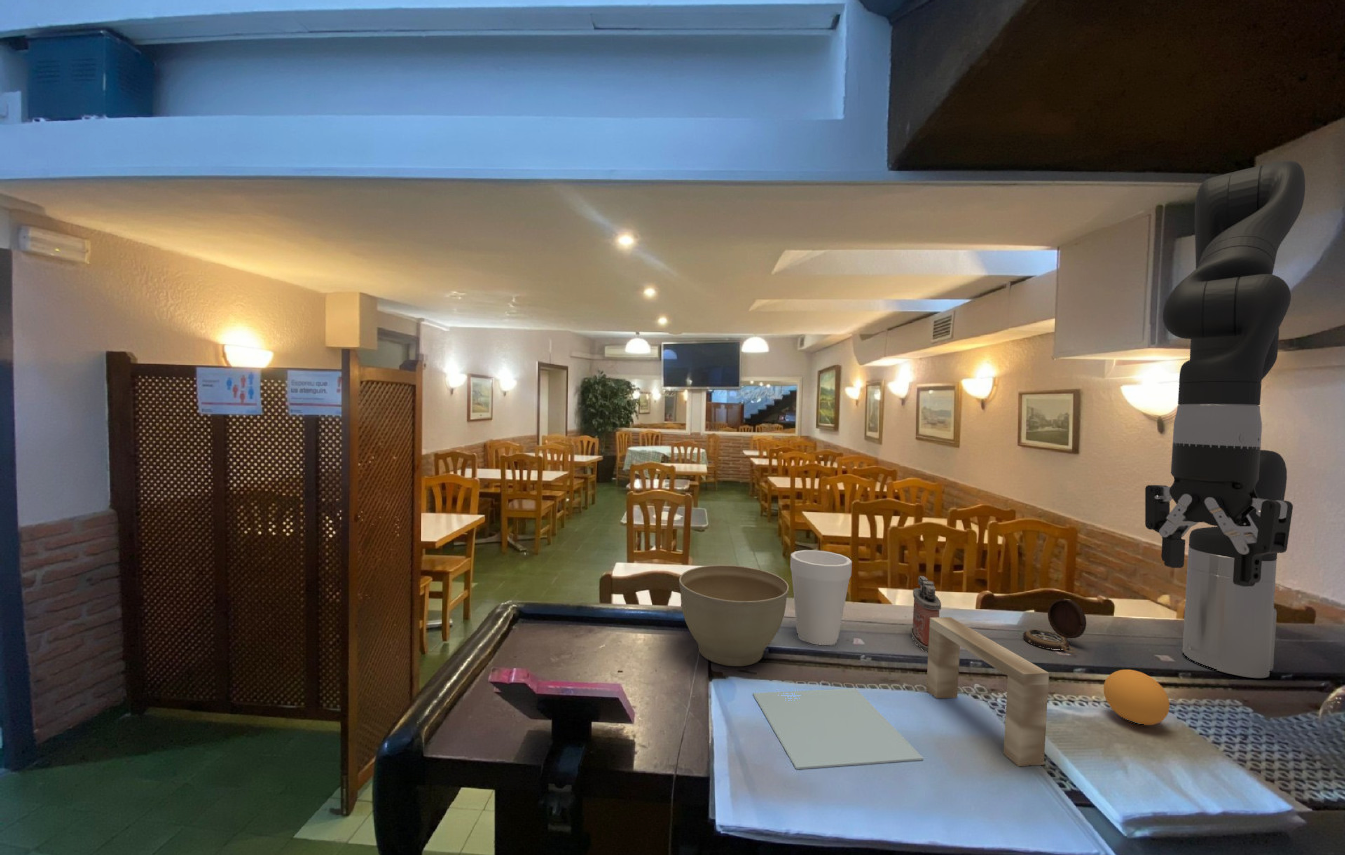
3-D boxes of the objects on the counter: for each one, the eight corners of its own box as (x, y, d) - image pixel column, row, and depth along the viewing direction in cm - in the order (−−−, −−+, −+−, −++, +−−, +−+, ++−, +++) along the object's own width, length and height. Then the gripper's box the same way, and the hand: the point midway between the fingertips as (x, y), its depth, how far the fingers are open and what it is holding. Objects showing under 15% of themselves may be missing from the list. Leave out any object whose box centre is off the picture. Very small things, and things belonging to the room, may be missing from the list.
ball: (1129, 706, 67) (1132, 659, 67) (1182, 734, 61) (1185, 684, 61) (1089, 708, 66) (1092, 661, 66) (1138, 737, 60) (1142, 686, 60)
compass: (1013, 637, 88) (1015, 594, 88) (1052, 634, 90) (1054, 592, 89) (1057, 659, 80) (1059, 612, 80) (1099, 656, 82) (1101, 610, 82)
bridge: (946, 689, 69) (950, 617, 69) (1043, 764, 55) (1049, 673, 54) (926, 690, 69) (929, 617, 69) (1018, 766, 54) (1023, 674, 54)
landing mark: (855, 689, 68) (855, 688, 68) (923, 760, 55) (923, 758, 55) (752, 694, 66) (752, 693, 66) (796, 769, 52) (796, 767, 52)
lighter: (943, 654, 80) (946, 590, 80) (919, 651, 81) (922, 587, 80) (928, 633, 88) (931, 574, 88) (907, 631, 89) (910, 572, 88)
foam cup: (848, 631, 87) (851, 554, 87) (847, 654, 79) (851, 569, 78) (790, 622, 90) (793, 547, 90) (783, 643, 82) (787, 561, 81)
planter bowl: (654, 650, 78) (656, 578, 77) (721, 622, 89) (724, 559, 89) (741, 693, 66) (745, 609, 66) (806, 655, 78) (809, 583, 78)
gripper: (1319, 446, 58) (1309, 595, 58) (1175, 440, 72) (1168, 559, 72) (1264, 445, 57) (1255, 596, 57) (1129, 438, 71) (1122, 559, 71)
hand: (1206, 575), depth 65 cm, fingers open, 7 cm apart
